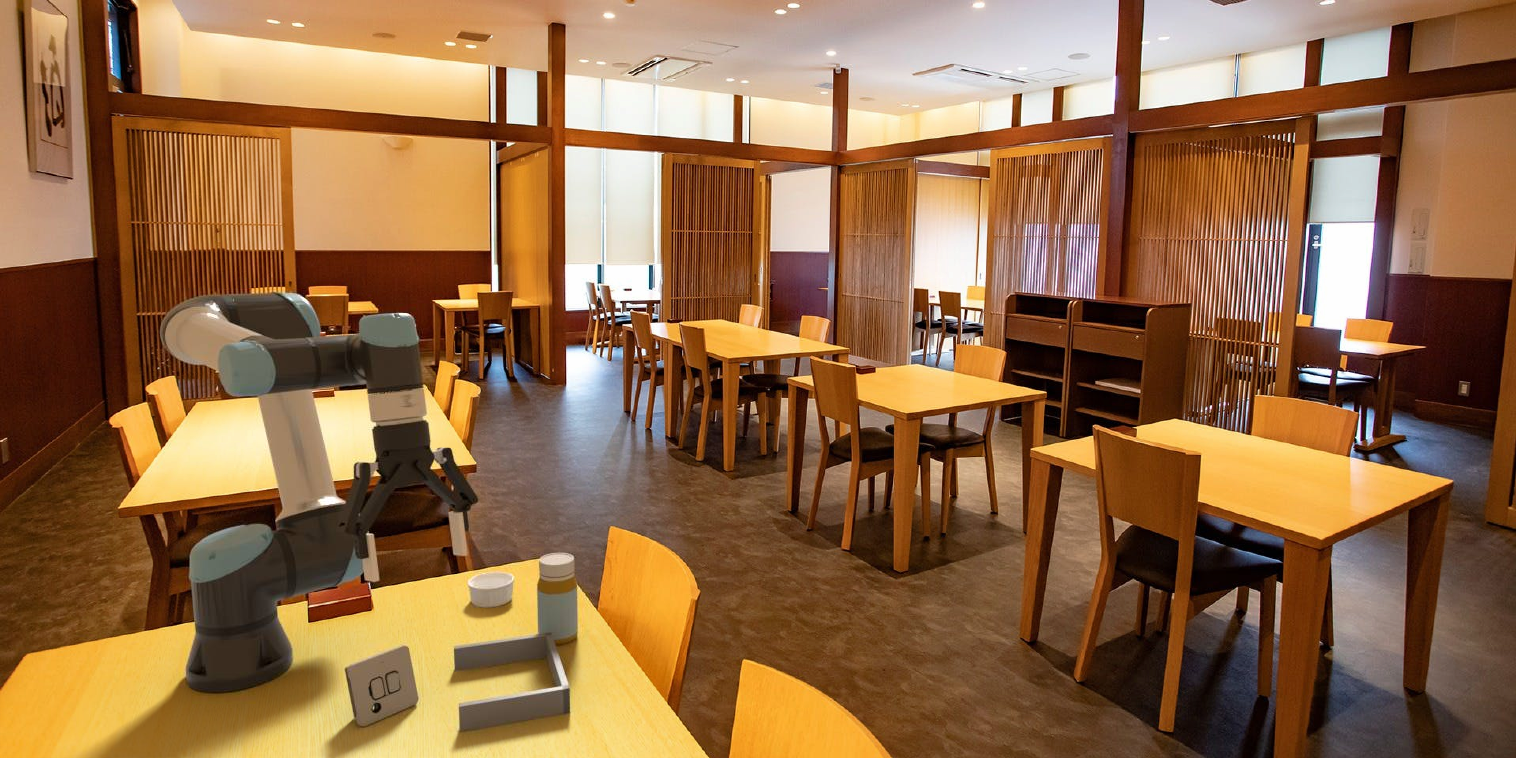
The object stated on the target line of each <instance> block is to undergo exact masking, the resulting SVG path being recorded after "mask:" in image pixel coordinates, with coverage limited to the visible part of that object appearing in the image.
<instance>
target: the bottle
mask: <svg viewBox="0 0 1516 758" xmlns="http://www.w3.org/2000/svg"><path fill="white" fill-rule="evenodd" d="M538 567H539V569H538V572H539V578H538V580H537V583H536V585H537V586H536V595H537V596H536V600H537V601H536V603H537V605H536V606H537V634H543V633H550V632H551V633H552V636H553V639H554V642H555V645H556V646H560V645H561V646H562V645H565V644H568V643H570V642H572V641H573V640H574V639H575V638H577V636H578V633H579V632H578V629H579V627H578V626H579V623H578V618H579V617H578V582H577V579H576V577H575V557H574V555H572V554H570V553H568V552H551V553H548V554H545V555H542V556H540V558H539V559H538Z"/></svg>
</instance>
